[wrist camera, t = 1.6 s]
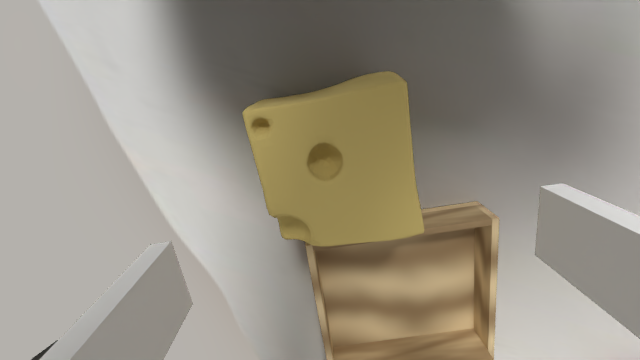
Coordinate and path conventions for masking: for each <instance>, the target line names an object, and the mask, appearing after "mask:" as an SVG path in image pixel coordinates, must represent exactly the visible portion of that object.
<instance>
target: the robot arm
mask: <svg viewBox="0 0 640 360" xmlns="http://www.w3.org/2000/svg"><path fill="white" fill-rule="evenodd" d="M535 255H536V256H537V257H538V258H540V259H541V260H542V261H543V262H545V263H546V264H547V265H548V266H550V267H551V268H552V269H553V270H555V271H556V272H557V273H558V274H560V275H561V276H562V277H563V278H565V279H566V280H567V281H568V282H570V283H571V284H572V285H573V286H575V287H576V288H577V289H578V290H579V291H581V292H582V293H583V294H584V295H586V296H587V297H588V298H589V299H591V300H592V301H593V302H594V303H596V304H597V305H598V306H599V307H601V308H602V309H603V310H604V311H606V312H607V313H608V314H609V315H611V316H612V317H613V318H614V319H616V320H617V321H618V322H619V323H621V324H622V325H623V326H624V327H626V328H627V329H628V330H629V331H631V332H632V333H633V334H634V335H636V336H637V337H638V338H639V339H640V216H639V215H636V214H634V213H631V212H629V211H627V210H624V209H622V208H620V207H617V206H615V205H613V204H610V203H608V202H606V201H603V200H601V199H599V198H596V197H594V196H592V195H589V194H587V193H585V192H582V191H580V190H578V189H575V188H573V187H571V186H568V185H566V184H563V183H560V184H553V185H546V186H540V197H539V209H538V222H537V234H536V247H535ZM192 304H193V303H192V300H191V297H190V294H189V291H188V288H187V285H186V282H185V279H184V276H183V274H182V271H181V268H180V265H179V262H178V259H177V256H176V254H175V250H174V248H173V245H172V242H171V241H169V242H162V243H156V244H150V245H149V246H148V247H147V248H146V249H145V250H144V251H143V253H142V254H141V255H140V256H139V257H138V258H137V259H136V260H135V261H134V262H133V263H132V264H131V265H130V266H129V267H128V268H127V269H126V270H125V271H124V272H123V273H122V274H121V275H120V276H119V277H118V278H117V280H116V281H115V282H114V283H113V284H112V285H111V286H110V287H109V288H108V289H107V290H106V291H105V292H104V293H103V294H102V295H101V296H100V297H99V298H98V299H97V300H96V301H95V302H94V303H93V304H92V305H91V307H90V308H89V309H88V310H87V311H86V312H85V313H84V314H83V315H82V316H81V317H80V318H79V319H78V320H77V321H76V322H75V323H74V324H73V325H72V326H71V327H70V328H69V329H68V330H67V331H66V333H64V335H63V336H62V337H61V338H60V339H59V340H57V341H55V342H54V343H53V344H51V345H50V346H49V347H47V348H46V349H45V350H43V351H42V352H41V353H39V354H38V355H37V356H35V357H34V358H33V359H32V360H163V359H164V357H165V356H166V354H167V352H168V350H169V348H170V346H171V344H172V342H173V340H174V339H175V337H176V334H177V333H178V331H179V329H180V327H181V325H182V323H183V321H184V319H185V317H186V316H187V314H188V312H189V310H190V308H191V306H192Z"/></svg>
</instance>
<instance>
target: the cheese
mask: <svg viewBox="0 0 640 360" xmlns="http://www.w3.org/2000/svg"><path fill="white" fill-rule="evenodd" d="M243 119H244V123H245V127H246V130H247V134H248V138H249V141H250V145H251V148H252V152H253V155H254V159H255V163H256V166H257V170H258V174H259V177H260V181H261V185H262V188H263V192H264V197H265V202H266V206H267V209H268V212H269V215H271V216H272V217H274V218H278V222H279V227H280V232H281V236H282V237H283V238H284V239H298V240H302V241H304V242H306V243H308V244H311V245H313V246H320V247H321V246H337V245H345V244H356V243H366V242H378V241H389V240H397V239H403V238H408V237H412V236H415V235H419V234H422V233H424V224H423V218H422V212H421V207H420V202H419V197H418V192H417V186H416V180H415V171H414V160H413V148H412V136H411V126H410V113H409V100H408V87H407V82H406V81H405V80H404V79H403V78H401V77H400V76H399V75H398V74H396V73H394V72H390V71H383V72H376V73H370V74H366V75H362V76H359V77H356V78H353V79H350V80H347V81H345V82H342V83H339V84H337V85H334V86H331V87H328V88H324V89H321V90H318V91H314V92H309V93H304V94H298V95H292V96H286V97H279V98H270V99H263V100H260V101H258V102H256V103H255V104H253V105H250V106H248V107H247V108H246V109H245V110H244V111H243Z"/></svg>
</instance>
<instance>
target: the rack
mask: <svg viewBox="0 0 640 360" xmlns="http://www.w3.org/2000/svg"><path fill="white" fill-rule="evenodd" d="M421 212H422V218H423V224H424V233H422V234H419V235H415V236H412V237H408V238H403V239H397V240H389V241H378V242H366V243H356V244H345V245H337V246H321V247H320V246H313V245H311V244H308V243H306V242H305V247H306V252H307V257H308V263H309V268H310V273H311V279H312V284H313V289H314V295H315V300H316V305H317V311H318V316H319V321H320V327H321V332H322V337H323V343H324V348H325V353H326V359H327V360H494V338H495V313H496V288H497V263H498V238H499V217H497V216H496V215H495V214H493V213H492V212H491V211H489V210H488V209H487V208H485V207H484V206H483V205H482V204H480V203H479V202H478V201H475V202H468V203H462V204H455V205H448V206H441V207H434V208H427V209H421Z"/></svg>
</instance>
